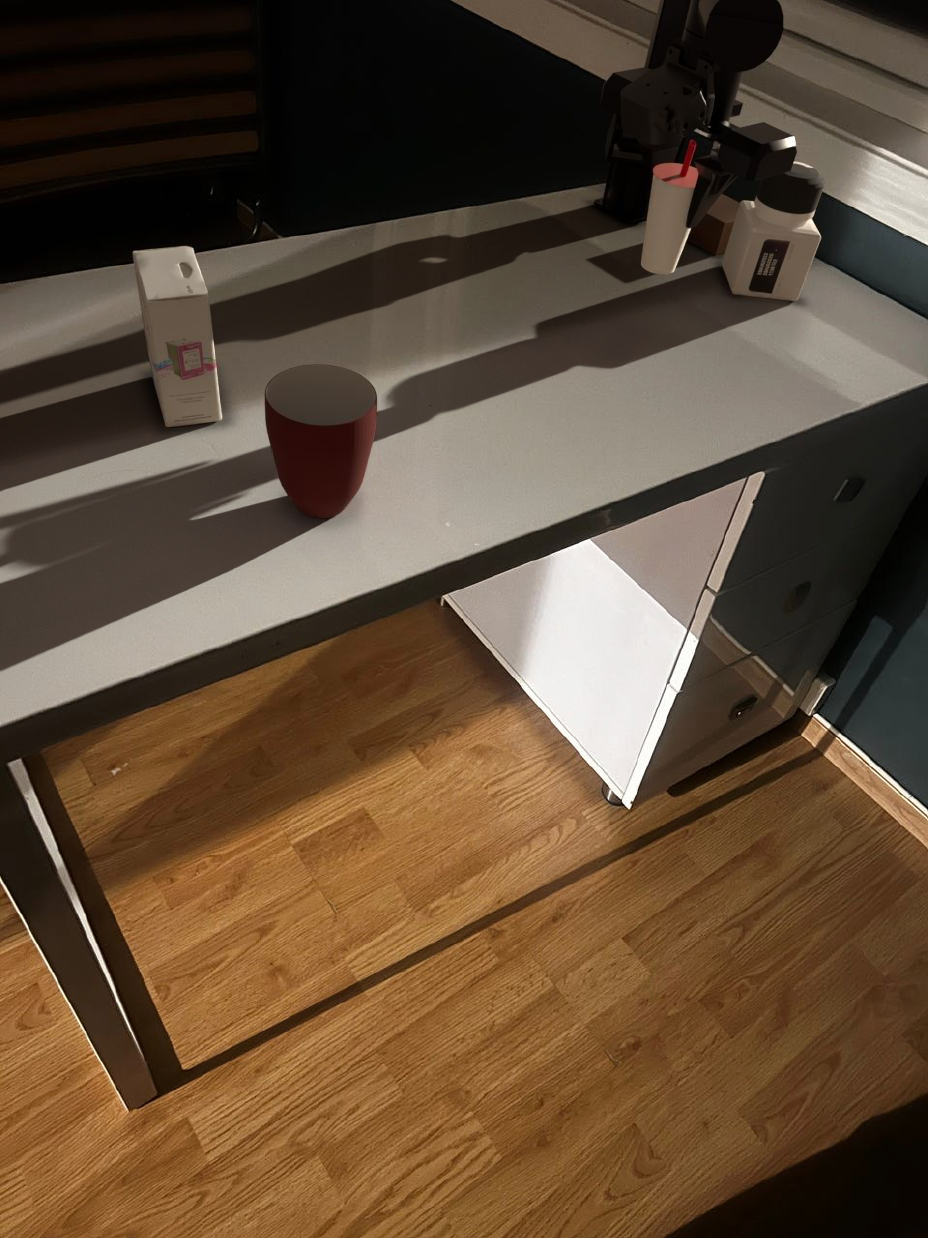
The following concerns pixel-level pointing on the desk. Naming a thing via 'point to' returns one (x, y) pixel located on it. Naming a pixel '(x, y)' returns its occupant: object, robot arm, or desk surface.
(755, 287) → the container
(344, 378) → the mug
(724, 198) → the walnut block
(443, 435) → the desk surface
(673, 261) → the cup
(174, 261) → the ink box
